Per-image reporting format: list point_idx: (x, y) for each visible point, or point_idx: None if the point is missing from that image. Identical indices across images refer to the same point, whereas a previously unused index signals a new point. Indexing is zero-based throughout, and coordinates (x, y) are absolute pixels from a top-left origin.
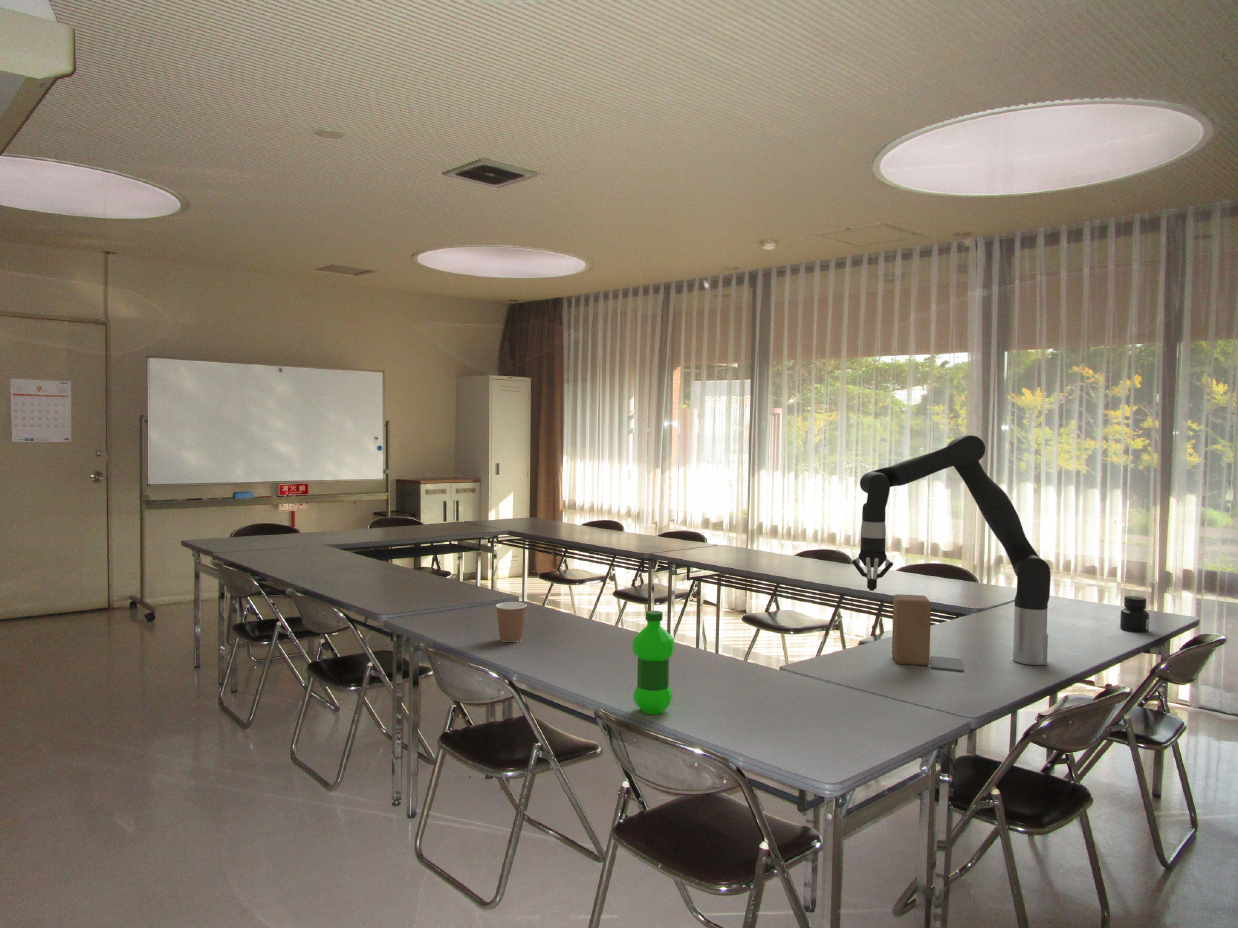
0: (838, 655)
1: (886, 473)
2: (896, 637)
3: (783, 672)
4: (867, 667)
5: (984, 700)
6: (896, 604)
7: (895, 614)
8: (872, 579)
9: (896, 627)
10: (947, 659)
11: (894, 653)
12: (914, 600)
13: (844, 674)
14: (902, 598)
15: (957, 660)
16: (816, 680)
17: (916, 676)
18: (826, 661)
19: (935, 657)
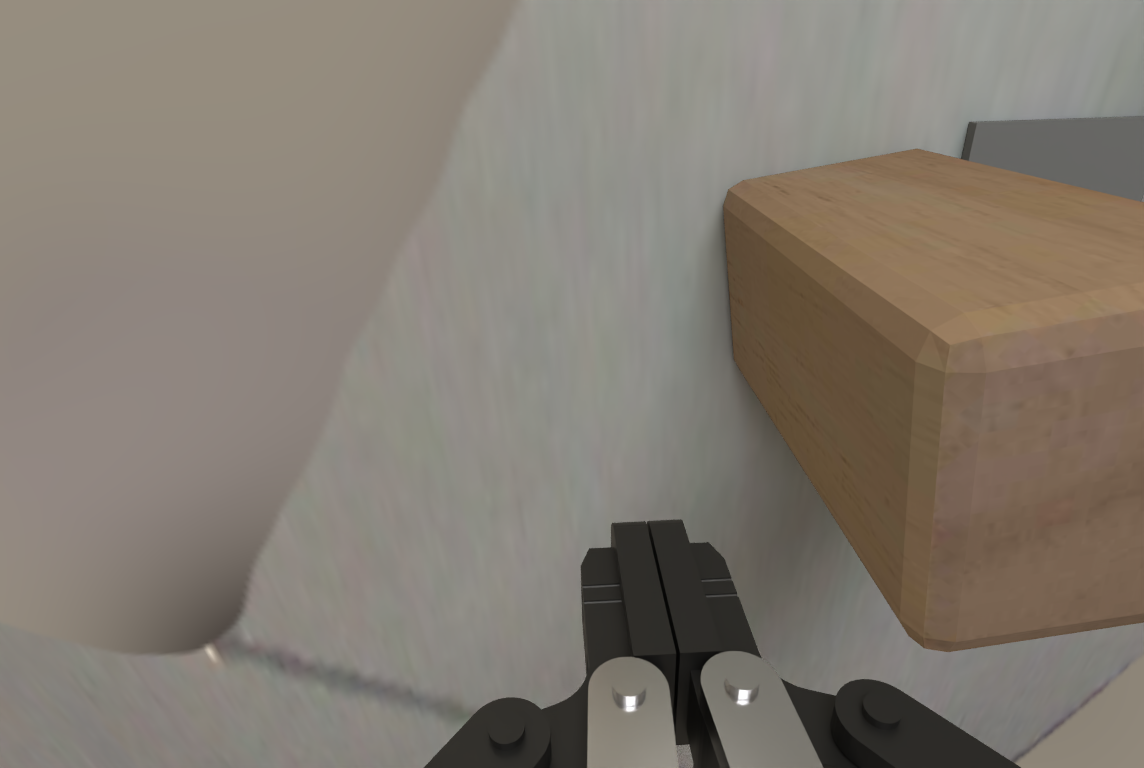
0: (399, 315)
1: None
2: (781, 434)
3: (249, 680)
4: (586, 480)
5: (1014, 697)
6: (887, 598)
7: (839, 478)
8: (681, 743)
9: (805, 472)
10: (1065, 175)
11: (739, 336)
12: (1108, 622)
13: (498, 615)
14: (994, 598)
15: (1124, 174)
16: (407, 717)
17: (813, 528)
18: (369, 460)
19: (999, 156)
